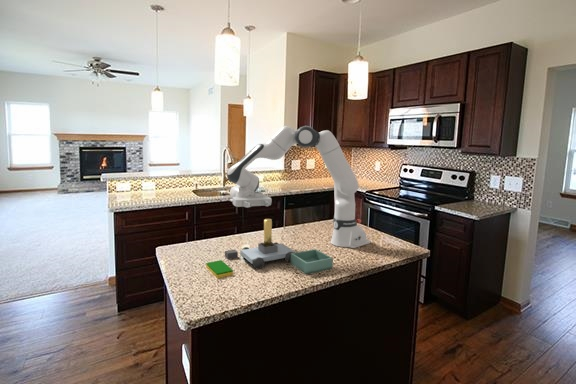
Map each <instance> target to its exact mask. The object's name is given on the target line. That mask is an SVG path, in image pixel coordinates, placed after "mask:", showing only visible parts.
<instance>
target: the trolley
mask: <svg viewBox="0 0 576 384" xmlns="http://www.w3.org/2000/svg"><path fill="white" fill-rule="evenodd" d="M239 251H240V252H239V253H240V255H241V257H242V258H244V259H246V260H247V261H248V262H249V263H250V264H252V266H253V267H254V269H256V270H260V269H262V268H264V266H265V262H269V261H270V262H271V261H275V260H276V261H277V260H279V259H280V260H281V259H284V258H285V262H287V263H289V264H291V253H296V251H295V250H294V249H292V248H290V247H289V246H287V245H285V244H284V243H282V242H281V243H278V242H273V241H272V246H269V247H264V242H260V243H258V245H257V247H250V248H249V247H248V246H247V247H246V246H245V247H243V248H241V249H240V250H239Z"/></svg>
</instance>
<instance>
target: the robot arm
mask: <svg viewBox="0 0 576 384" xmlns="http://www.w3.org/2000/svg"><path fill="white" fill-rule="evenodd" d="M294 145H298V146H299V147H301V148H311V147H315V148H316V149H317V151H318V153H319V154H320V156H321V158H322V160H323V163H324V165H325V167H326V169H327V171H328V172H329V174H330V176H331V178H332V180H333V188H334V190H333V191H334V192H333V193H334V197H333V198H334V215H333V222H332V223H333V224H332V225H333V229H332V230H333V231H332V236H331V239H330V244H332V246H336V247H342V248H350V249H351V248H352V249H356V248H359V247H362V246H365V245H369V244H371V240H370V239H368V238H367V233H366V231H365V230H364V229H363V228H362V227H360V226H359V223H361V222H362V220H361V219H360V218H356V200H355V193H357V191H358V189H359V186H360V185H359V184H360V183H359V181H358V178H357V177H356V174H355V173H354V171H353V169H352V167H351V165H350V163H349V162H348V160H347V158H346V156H345V154H344V152H343V150H342V148H341V146H340V144H339V142H338V140H337V138H336V137H335V135H334V133H332V132H331V131H330V130H328V129H326V130H322V131H320V132H319V131H317V130H315V129H314V128H313V127H312V126H309V125H303V126H300V127H299V128H298V129H294V128H292V127H291V126H288V125H283V126H282V127H281V128H280V129H278V130H277V131H276V132H275V133H274V134H273V135H272V136H271V138H270V139H268V140H267V141H266V142H264V143H258V144H257V145H256V146H254V147H253V148H252V149H251V150H249V151H248V152H247V153H246V154H245V155H244V156H243V157H241V159H239V160H238V161H237V162H236V163H234V164H232V165H231V166H230V167H229V168H228V169H227V172H226V177H227V179H228V182H230V183H233V184H235V185H233V186H232V187H230V190H229V196H230V199H229V202H232V205H233V206H234V207H237V208H238V207H239V208H240V207H241V208H242V207H244V208H252V207H261V206H265V207H269V206H271V205H272V197H270V196H268V195H266V194H264V193H263V192H259V191H258V189H259V186H260V178H259V177H258V176H257V175H256V174H254V173H253V172H251V171H249V170H248V169H247V167H248V166H249V165H250V164H252V163H253V162H254V161H255V160H257V159H268V160H271V161H275V160H280V159H282V158H283V157H284V156H285V155H286V153H288V151H289V150H290V149H291V148H292V146H294Z"/></svg>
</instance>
